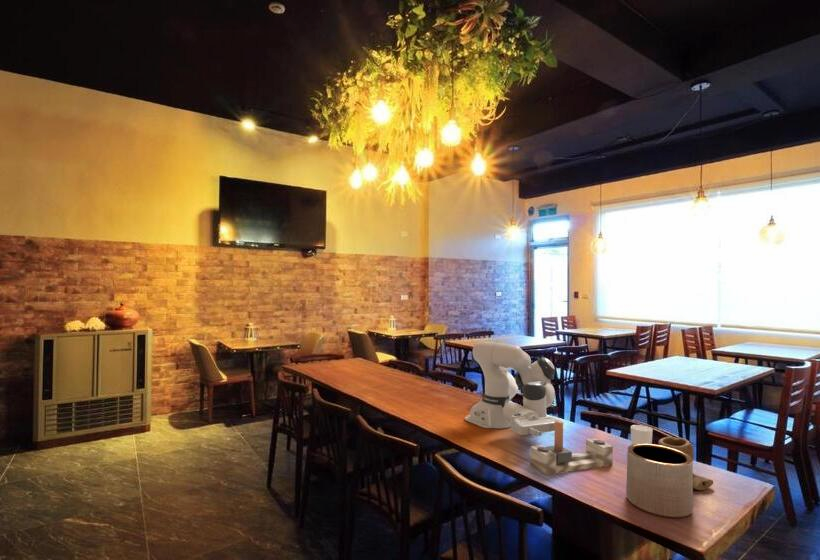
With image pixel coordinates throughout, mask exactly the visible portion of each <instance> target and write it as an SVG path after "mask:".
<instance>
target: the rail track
mask: <svg viewBox="0 0 820 560" xmlns="http://www.w3.org/2000/svg"><path fill="white" fill-rule="evenodd" d="M546 447H547V446H543V445H541V444H538V445H531V446H530V451H529V452H530V454H529V455H530V457H529V458H530V459H529V460H530V461H529V462H530V463H529V465H530V467H532V468H534V469H535V470H537V471H538V472H539V473H541V474H543V475H544V476H550V475H555V474H556V475H558V474H563V473H562V472H564V473H569V472H568V471H571V472H575V471H574V470H578V471H583V470H582V469H584V470H590V469H589V468H591V469H597V468H603V467H602V466H604V467H608V466H607V465H611V466H613V463H614V462H613V461H614V460H613V458H614V446H613V445H611V444H608V443H606V442H605V440H604V441H603V440H600V439H598V438H588V439H585V452H579V453H577V452H576V453H572V460H570V462H569V463H562V464H556V454H555V453H554V452H552V451H550V450H549V449H548V448H546ZM596 467H597V468H596ZM557 473H558V474H557Z"/></svg>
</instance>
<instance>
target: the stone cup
mask: <svg viewBox="0 0 820 560" xmlns="http://www.w3.org/2000/svg"><path fill="white" fill-rule="evenodd" d="M657 445H661V446H666V447H670V448H673V449H676V450H679V451H681V452H684V453H686V454H687V455H689V456H690V457H691V458H692V460H693V461H694V456H695V453H694V451H695V450H694V447H693V445H692V443H691V441H689V440H688V439H686V438H684V437H673V436H665V437H662V438H660V439H659V440H658V442H657ZM713 484H714V480H712V479H709V478H707V477H704V476H700V475H698V474H694V473H693V490H697V491H704V490H707V489H709V488H711V486H712V485H713Z"/></svg>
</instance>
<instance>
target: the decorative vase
mask: <svg viewBox="0 0 820 560" xmlns="http://www.w3.org/2000/svg"><path fill="white" fill-rule="evenodd" d="M499 368H500V370H501V372H502V373H503V374H504V375H506V376H507V378H508V380H509V391H508V395H509V402H513V401H512V399H513V398H514V397H515V396H516V394H517V393H518V392H519V388H518V386H517V384H516V382H515V377H514V376H513V375H512V373H510V372H509V370H510V369H507V368H505V367H501V366H499Z"/></svg>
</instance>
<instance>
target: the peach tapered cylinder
mask: <svg viewBox="0 0 820 560" xmlns="http://www.w3.org/2000/svg"><path fill="white" fill-rule="evenodd" d="M553 441H554V445H550V446H549V445H548V446H545V447H546V448H548V449H549V450H550V451H552V452H554V453H555V454H556V464H562V463H569V462H570V460H572V454H573V452H572V451H571V450H569V449H567V448H565V447H564V421H563V420H561V421H555V431H554V440H553Z"/></svg>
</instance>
